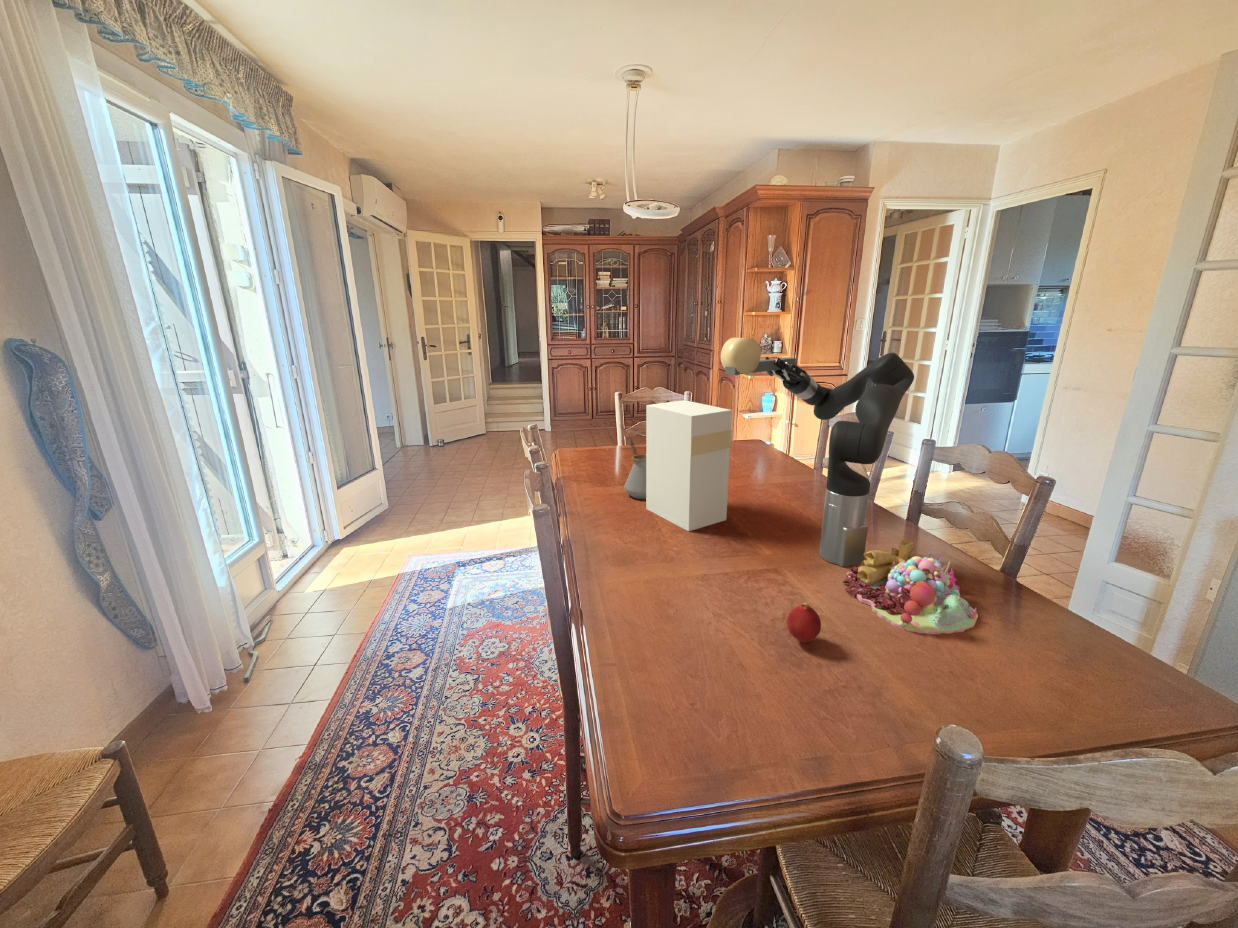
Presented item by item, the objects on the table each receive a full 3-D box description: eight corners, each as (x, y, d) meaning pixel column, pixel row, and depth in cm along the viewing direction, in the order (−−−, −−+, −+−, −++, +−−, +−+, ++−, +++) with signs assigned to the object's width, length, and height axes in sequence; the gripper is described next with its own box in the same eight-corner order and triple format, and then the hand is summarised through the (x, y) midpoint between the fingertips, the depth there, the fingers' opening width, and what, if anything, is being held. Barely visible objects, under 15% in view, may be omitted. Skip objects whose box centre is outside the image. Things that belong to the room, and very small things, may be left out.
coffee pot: (663, 499, 163) (664, 454, 158) (628, 502, 160) (628, 456, 156) (646, 478, 183) (646, 438, 178) (615, 481, 180) (614, 440, 176)
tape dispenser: (734, 375, 144) (736, 339, 141) (720, 373, 148) (721, 338, 146) (798, 368, 157) (800, 335, 154) (782, 366, 162) (785, 334, 159)
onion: (792, 627, 96) (796, 590, 94) (823, 639, 92) (828, 600, 90) (780, 642, 92) (783, 604, 89) (812, 655, 88) (816, 615, 86)
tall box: (689, 531, 138) (692, 416, 129) (646, 508, 155) (646, 405, 146) (727, 520, 145) (732, 410, 136) (682, 499, 162) (684, 400, 153)
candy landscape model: (821, 580, 113) (826, 543, 110) (901, 561, 121) (906, 526, 118) (921, 646, 91) (929, 601, 88) (1010, 618, 98) (1020, 575, 96)
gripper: (787, 371, 170) (757, 347, 160) (823, 375, 158) (794, 350, 148) (778, 391, 170) (747, 369, 160) (814, 397, 158) (783, 373, 148)
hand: (770, 360), depth 154 cm, fingers closed on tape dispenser, 4 cm apart
